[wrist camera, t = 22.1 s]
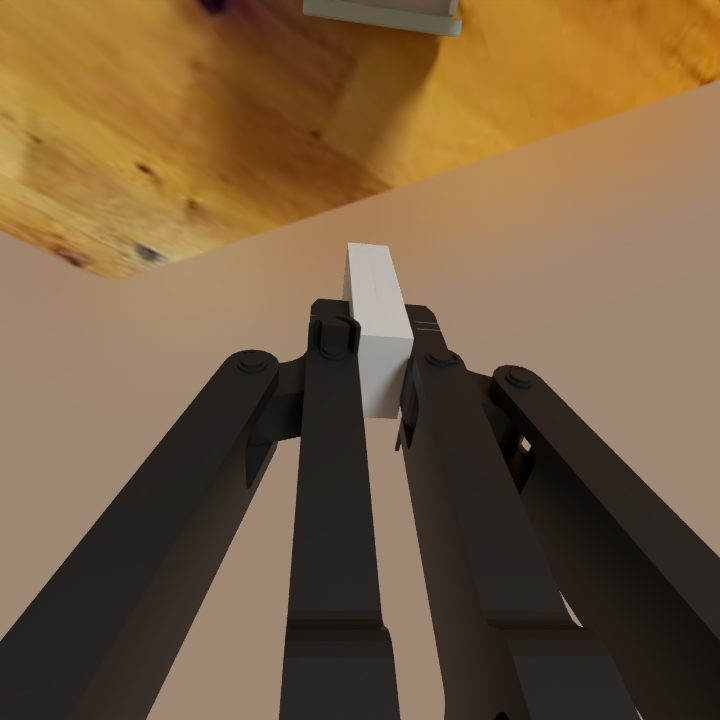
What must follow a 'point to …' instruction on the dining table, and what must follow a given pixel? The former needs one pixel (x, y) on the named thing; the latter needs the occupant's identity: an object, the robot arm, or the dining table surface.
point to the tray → (391, 14)
